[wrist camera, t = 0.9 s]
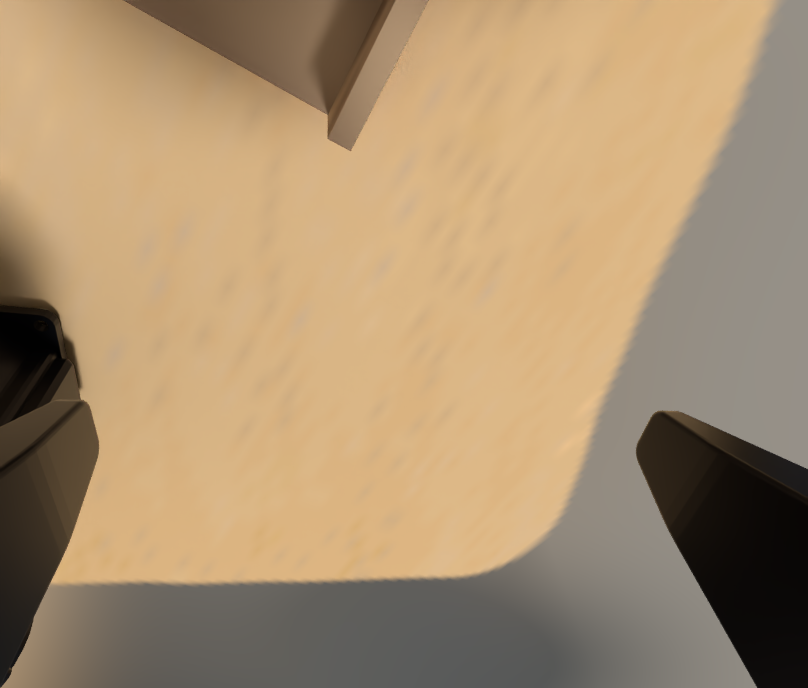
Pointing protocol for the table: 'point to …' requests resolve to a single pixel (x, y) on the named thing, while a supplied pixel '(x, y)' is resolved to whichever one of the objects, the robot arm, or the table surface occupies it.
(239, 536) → the table surface
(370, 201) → the table surface
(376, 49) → the holder
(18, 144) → the table surface
